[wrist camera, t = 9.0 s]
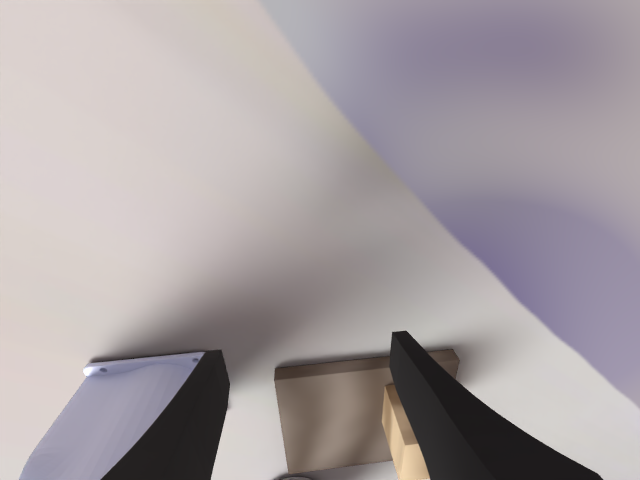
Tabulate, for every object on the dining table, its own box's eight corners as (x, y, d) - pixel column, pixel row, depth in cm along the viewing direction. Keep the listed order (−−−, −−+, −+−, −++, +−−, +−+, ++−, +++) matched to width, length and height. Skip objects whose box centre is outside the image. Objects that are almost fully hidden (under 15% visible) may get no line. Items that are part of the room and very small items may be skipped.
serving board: (288, 461, 32) (288, 474, 30) (274, 368, 25) (274, 380, 24) (433, 442, 33) (437, 454, 32) (452, 349, 27) (459, 359, 26)
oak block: (381, 421, 28) (399, 482, 24) (384, 385, 26) (405, 445, 22) (432, 415, 29) (459, 474, 24) (439, 379, 26) (470, 437, 22)
